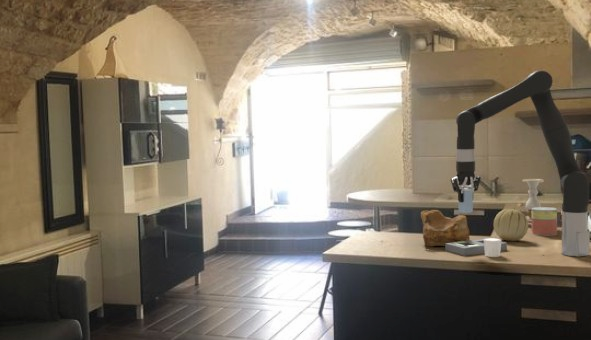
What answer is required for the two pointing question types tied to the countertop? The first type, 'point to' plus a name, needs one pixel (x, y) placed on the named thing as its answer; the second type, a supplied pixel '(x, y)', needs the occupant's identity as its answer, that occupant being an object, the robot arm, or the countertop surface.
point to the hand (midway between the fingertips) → (465, 201)
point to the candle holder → (532, 198)
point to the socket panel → (469, 247)
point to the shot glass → (492, 247)
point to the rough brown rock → (443, 228)
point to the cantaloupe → (510, 224)
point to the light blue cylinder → (467, 201)
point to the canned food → (544, 221)
